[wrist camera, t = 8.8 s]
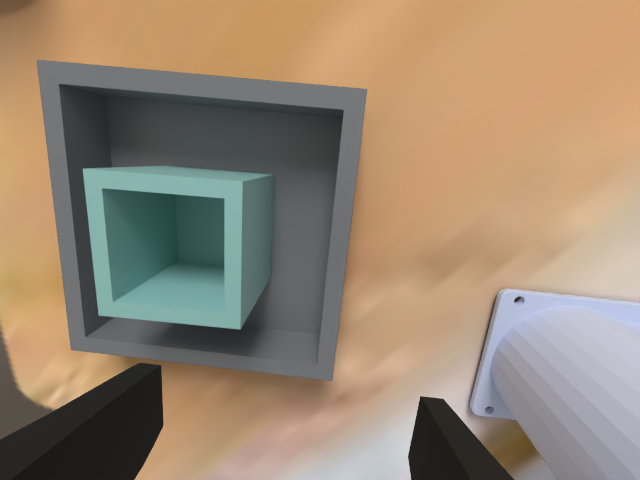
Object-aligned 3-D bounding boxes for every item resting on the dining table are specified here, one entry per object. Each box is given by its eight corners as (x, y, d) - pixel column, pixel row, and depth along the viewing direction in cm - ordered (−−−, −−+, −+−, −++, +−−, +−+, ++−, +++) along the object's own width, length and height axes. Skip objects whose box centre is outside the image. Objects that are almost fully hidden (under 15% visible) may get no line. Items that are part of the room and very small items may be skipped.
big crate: (360, 104, 15) (367, 89, 12) (333, 340, 19) (332, 380, 15) (101, 81, 16) (36, 59, 12) (118, 316, 19) (71, 349, 16)
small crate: (275, 174, 16) (242, 181, 10) (271, 276, 17) (240, 329, 12) (168, 165, 16) (82, 168, 11) (172, 267, 17) (98, 315, 12)
